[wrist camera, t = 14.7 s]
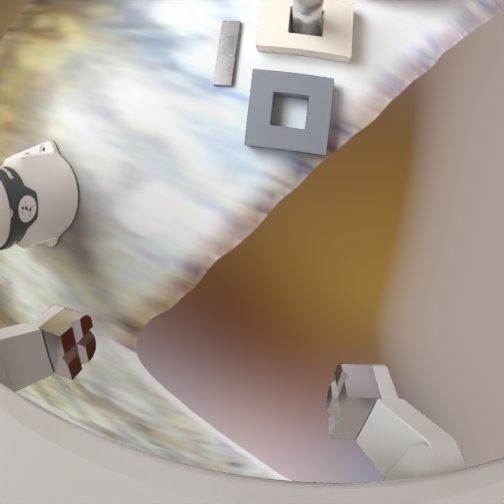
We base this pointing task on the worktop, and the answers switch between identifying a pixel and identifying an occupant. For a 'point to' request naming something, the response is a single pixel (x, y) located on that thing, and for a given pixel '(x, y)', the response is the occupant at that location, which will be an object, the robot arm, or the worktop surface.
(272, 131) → the socket
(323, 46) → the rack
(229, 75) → the bar
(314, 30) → the capped cylinder peg
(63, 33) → the worktop surface
